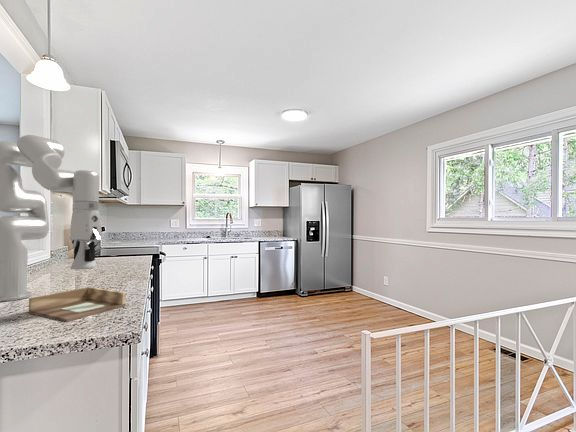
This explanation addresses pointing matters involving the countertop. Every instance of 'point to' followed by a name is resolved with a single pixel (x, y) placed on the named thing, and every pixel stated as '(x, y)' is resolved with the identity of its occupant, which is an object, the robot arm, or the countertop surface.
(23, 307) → the countertop surface
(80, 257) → the flask
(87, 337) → the countertop surface
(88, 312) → the tray
